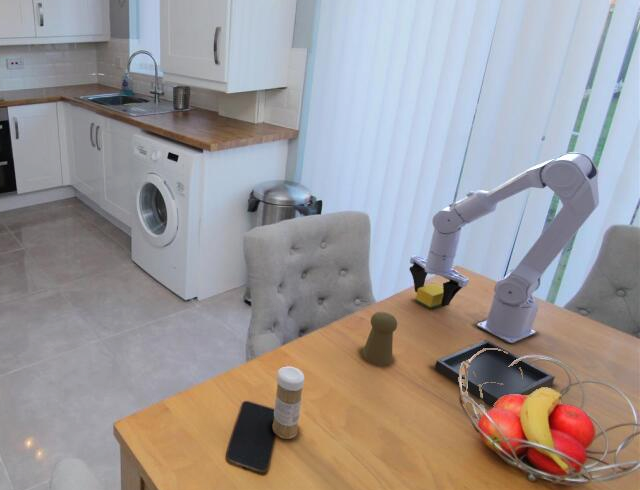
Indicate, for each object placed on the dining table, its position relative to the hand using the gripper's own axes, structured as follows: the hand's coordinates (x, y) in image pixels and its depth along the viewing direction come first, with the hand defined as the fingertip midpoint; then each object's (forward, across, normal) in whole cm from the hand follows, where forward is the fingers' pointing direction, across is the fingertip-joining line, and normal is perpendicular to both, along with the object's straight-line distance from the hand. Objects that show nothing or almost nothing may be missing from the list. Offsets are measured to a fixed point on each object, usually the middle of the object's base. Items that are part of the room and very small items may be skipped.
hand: (431, 297), depth 128 cm
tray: (+1, +25, -15) cm, 29 cm away
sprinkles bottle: (+2, +18, -64) cm, 67 cm away
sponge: (+1, 0, 0) cm, 1 cm away
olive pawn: (+2, +10, -31) cm, 33 cm away
